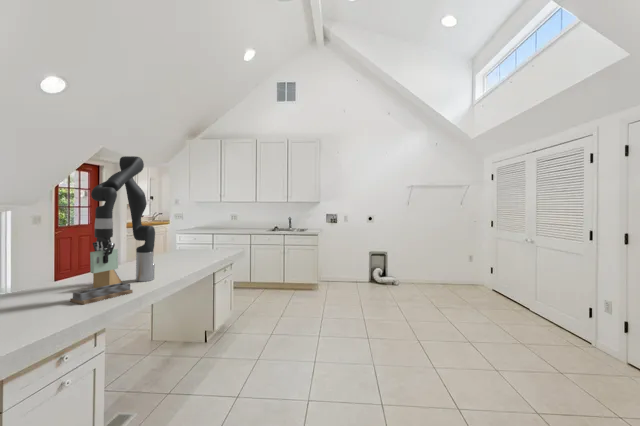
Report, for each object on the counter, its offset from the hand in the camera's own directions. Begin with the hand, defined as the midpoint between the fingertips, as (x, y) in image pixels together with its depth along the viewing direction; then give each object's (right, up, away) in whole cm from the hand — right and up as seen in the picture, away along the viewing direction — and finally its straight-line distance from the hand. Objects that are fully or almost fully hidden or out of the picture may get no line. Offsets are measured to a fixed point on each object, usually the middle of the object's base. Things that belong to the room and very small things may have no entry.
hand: (103, 262), depth 163 cm
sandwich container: (-12, -17, +23) cm, 31 cm away
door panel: (0, -4, +1) cm, 4 cm away
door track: (0, -17, 0) cm, 17 cm away
